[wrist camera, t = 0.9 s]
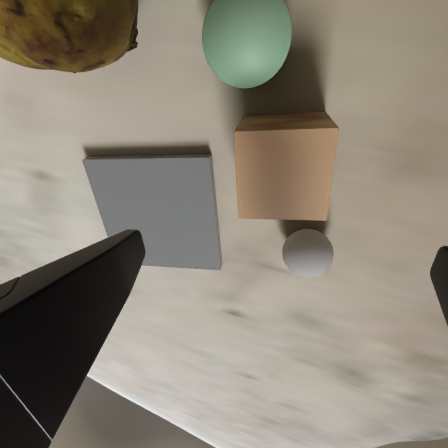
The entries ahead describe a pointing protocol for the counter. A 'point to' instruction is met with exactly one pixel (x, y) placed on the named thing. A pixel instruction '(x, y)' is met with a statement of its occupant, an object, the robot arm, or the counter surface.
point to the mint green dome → (246, 40)
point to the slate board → (161, 205)
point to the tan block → (285, 165)
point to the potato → (67, 33)
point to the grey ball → (307, 253)
